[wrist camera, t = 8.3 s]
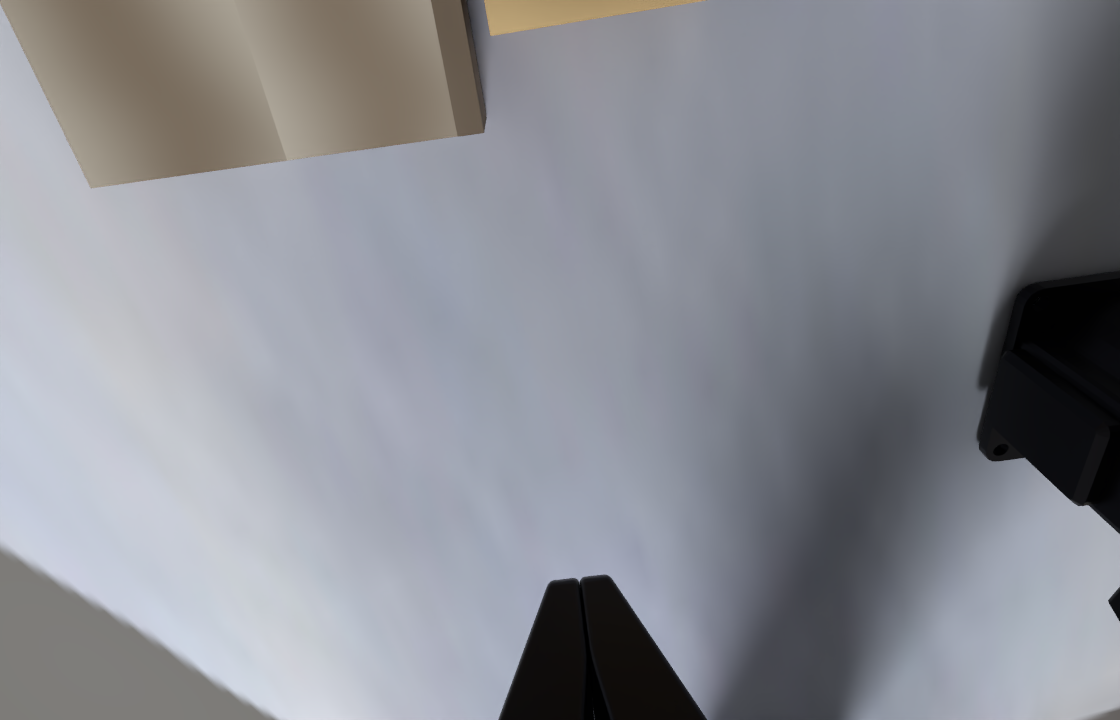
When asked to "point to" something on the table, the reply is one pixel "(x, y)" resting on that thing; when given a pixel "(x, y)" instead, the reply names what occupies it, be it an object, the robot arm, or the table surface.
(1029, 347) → the robot arm
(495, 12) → the plank
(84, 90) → the floor board
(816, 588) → the table surface
